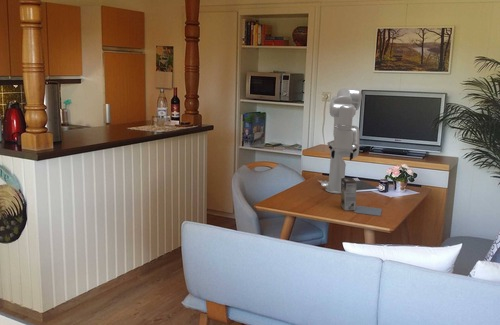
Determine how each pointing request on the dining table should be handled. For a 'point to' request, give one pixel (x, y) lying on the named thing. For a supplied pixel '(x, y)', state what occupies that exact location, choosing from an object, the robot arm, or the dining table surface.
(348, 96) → the robot arm
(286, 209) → the dining table surface
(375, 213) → the mat
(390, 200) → the dining table surface
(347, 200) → the coffee box
